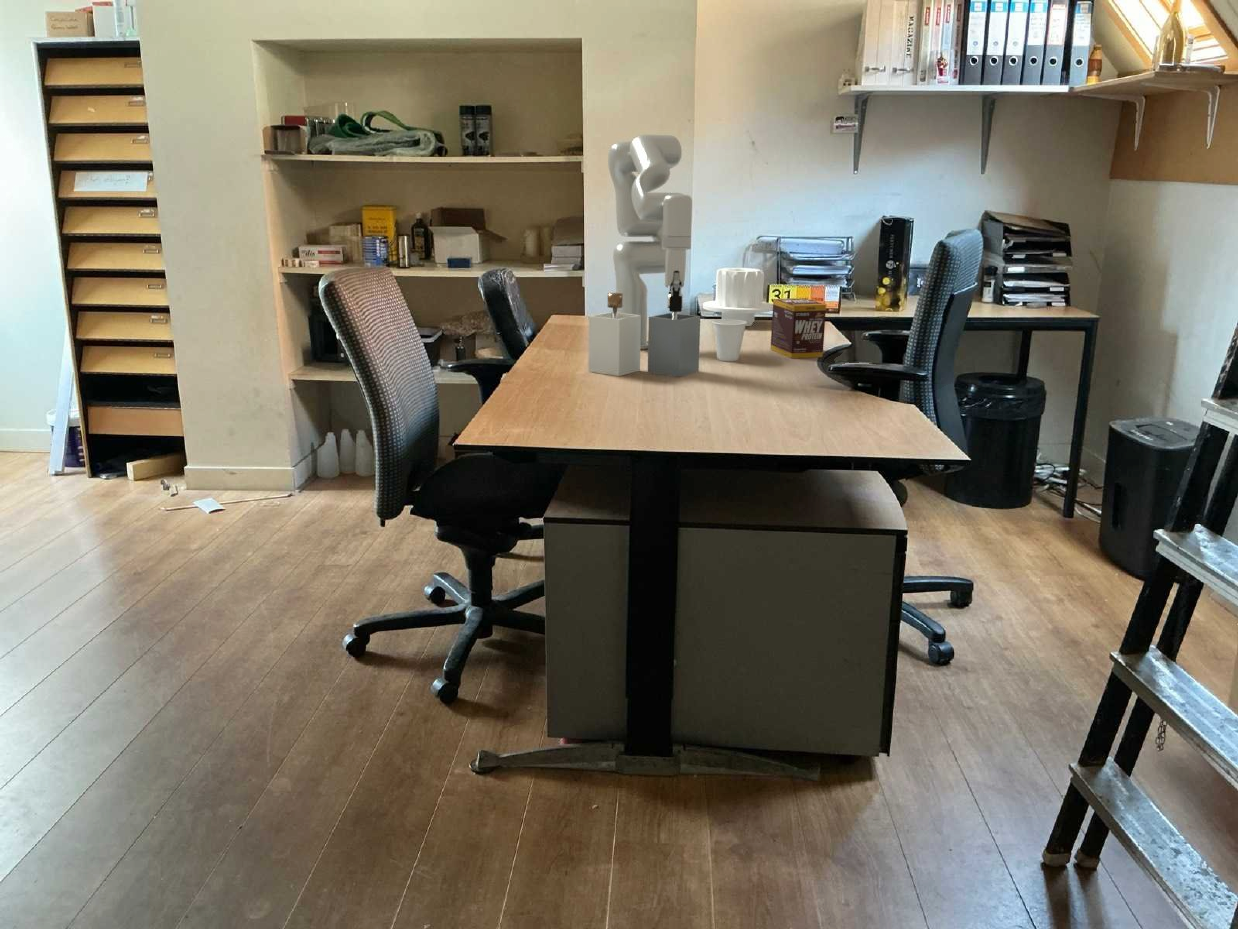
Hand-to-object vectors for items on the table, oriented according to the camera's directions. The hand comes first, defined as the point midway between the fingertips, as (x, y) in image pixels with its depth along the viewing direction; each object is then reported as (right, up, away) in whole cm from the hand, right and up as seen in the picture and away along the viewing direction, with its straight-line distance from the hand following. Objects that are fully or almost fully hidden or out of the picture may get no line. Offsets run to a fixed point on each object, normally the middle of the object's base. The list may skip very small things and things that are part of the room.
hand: (674, 308), depth 275 cm
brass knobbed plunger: (0, -15, +4) cm, 16 cm away
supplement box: (+38, -8, +34) cm, 52 cm away
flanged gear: (+27, +8, +89) cm, 93 cm away
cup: (+17, -11, +23) cm, 30 cm away
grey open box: (0, -16, +5) cm, 17 cm away
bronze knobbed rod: (-16, -15, +5) cm, 22 cm away
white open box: (-16, -16, +5) cm, 23 cm away
